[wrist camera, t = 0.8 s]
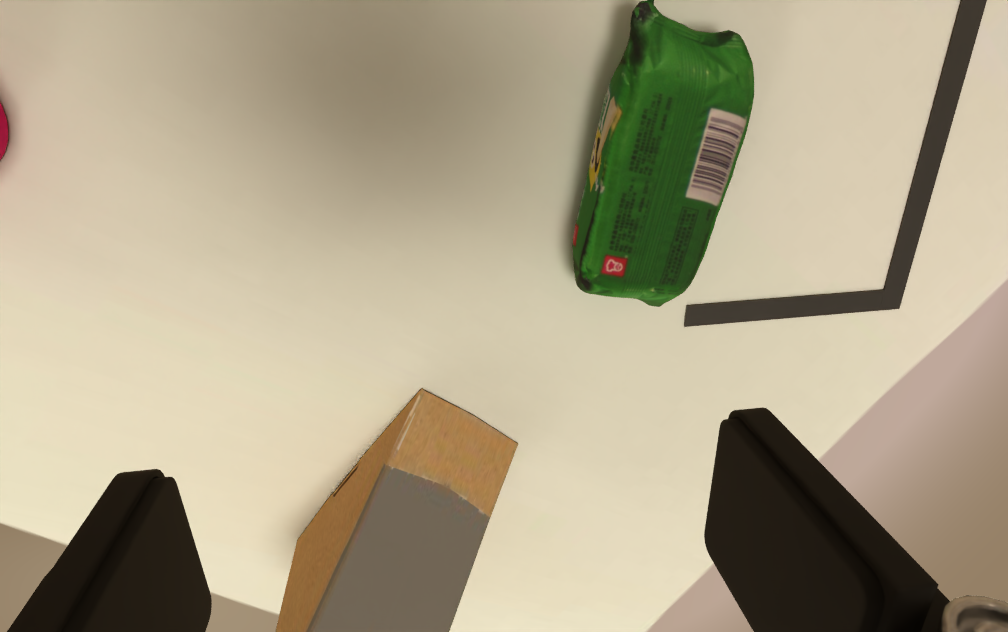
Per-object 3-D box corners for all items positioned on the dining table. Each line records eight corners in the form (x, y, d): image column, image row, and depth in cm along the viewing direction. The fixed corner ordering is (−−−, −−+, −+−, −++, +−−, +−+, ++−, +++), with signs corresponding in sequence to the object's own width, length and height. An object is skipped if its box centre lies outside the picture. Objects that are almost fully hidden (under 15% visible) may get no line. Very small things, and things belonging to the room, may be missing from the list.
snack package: (740, 26, 33) (794, 25, 28) (659, 295, 39) (692, 331, 34) (614, -2, 31) (649, -7, 27) (550, 282, 37) (570, 318, 33)
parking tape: (729, -57, 31) (730, -57, 31) (1001, -59, 33) (1003, -59, 32) (684, 326, 40) (684, 326, 40) (898, 308, 42) (899, 308, 42)
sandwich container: (523, 443, 42) (576, 638, 29) (395, 583, 46) (390, 811, 33) (420, 384, 39) (427, 571, 26) (293, 539, 43) (241, 772, 30)
